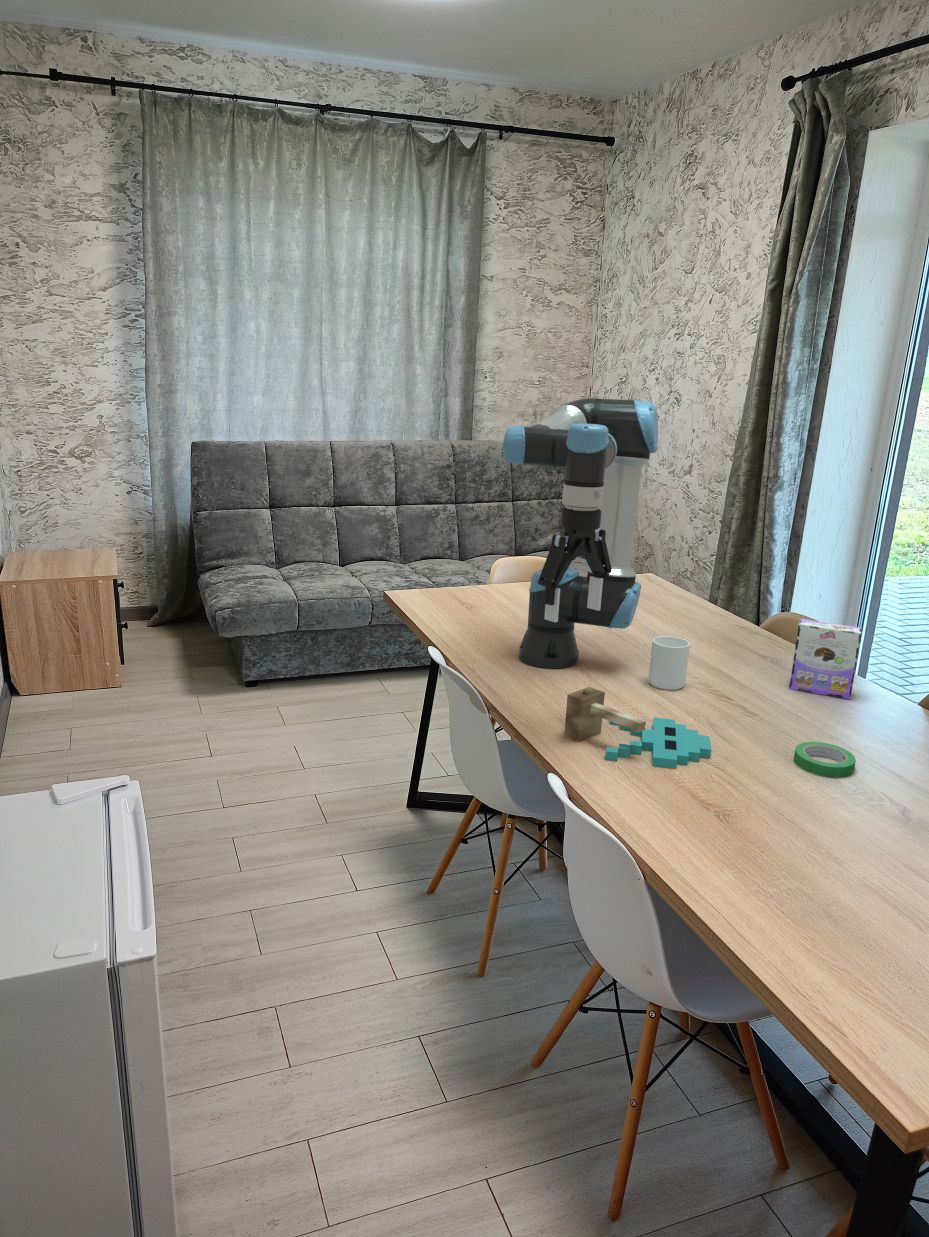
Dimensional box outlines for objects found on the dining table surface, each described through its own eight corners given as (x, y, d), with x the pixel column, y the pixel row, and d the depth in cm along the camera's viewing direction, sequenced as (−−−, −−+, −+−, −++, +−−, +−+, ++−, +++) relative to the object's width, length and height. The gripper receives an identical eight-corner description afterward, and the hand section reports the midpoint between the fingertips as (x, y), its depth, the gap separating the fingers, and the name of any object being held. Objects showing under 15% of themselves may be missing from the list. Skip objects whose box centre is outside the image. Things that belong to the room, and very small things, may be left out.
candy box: (851, 692, 215) (863, 626, 211) (850, 700, 210) (862, 633, 205) (790, 681, 221) (800, 617, 216) (788, 689, 216) (798, 623, 211)
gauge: (564, 735, 184) (567, 690, 181) (585, 726, 189) (589, 683, 186) (628, 762, 173) (633, 715, 170) (649, 752, 178) (654, 706, 175)
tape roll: (847, 784, 169) (850, 771, 168) (787, 768, 175) (789, 755, 174) (858, 763, 178) (860, 751, 177) (800, 748, 184) (802, 736, 183)
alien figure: (605, 762, 174) (711, 775, 171) (606, 751, 174) (713, 764, 170) (610, 722, 193) (706, 733, 189) (611, 712, 192) (707, 723, 189)
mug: (675, 673, 223) (679, 631, 220) (689, 691, 211) (694, 647, 208) (640, 672, 222) (645, 631, 219) (653, 690, 211) (658, 647, 208)
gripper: (556, 516, 161) (547, 630, 166) (635, 504, 178) (625, 608, 184) (524, 509, 165) (516, 621, 171) (604, 499, 183) (595, 600, 189)
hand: (572, 614), depth 178 cm, fingers open, 13 cm apart
